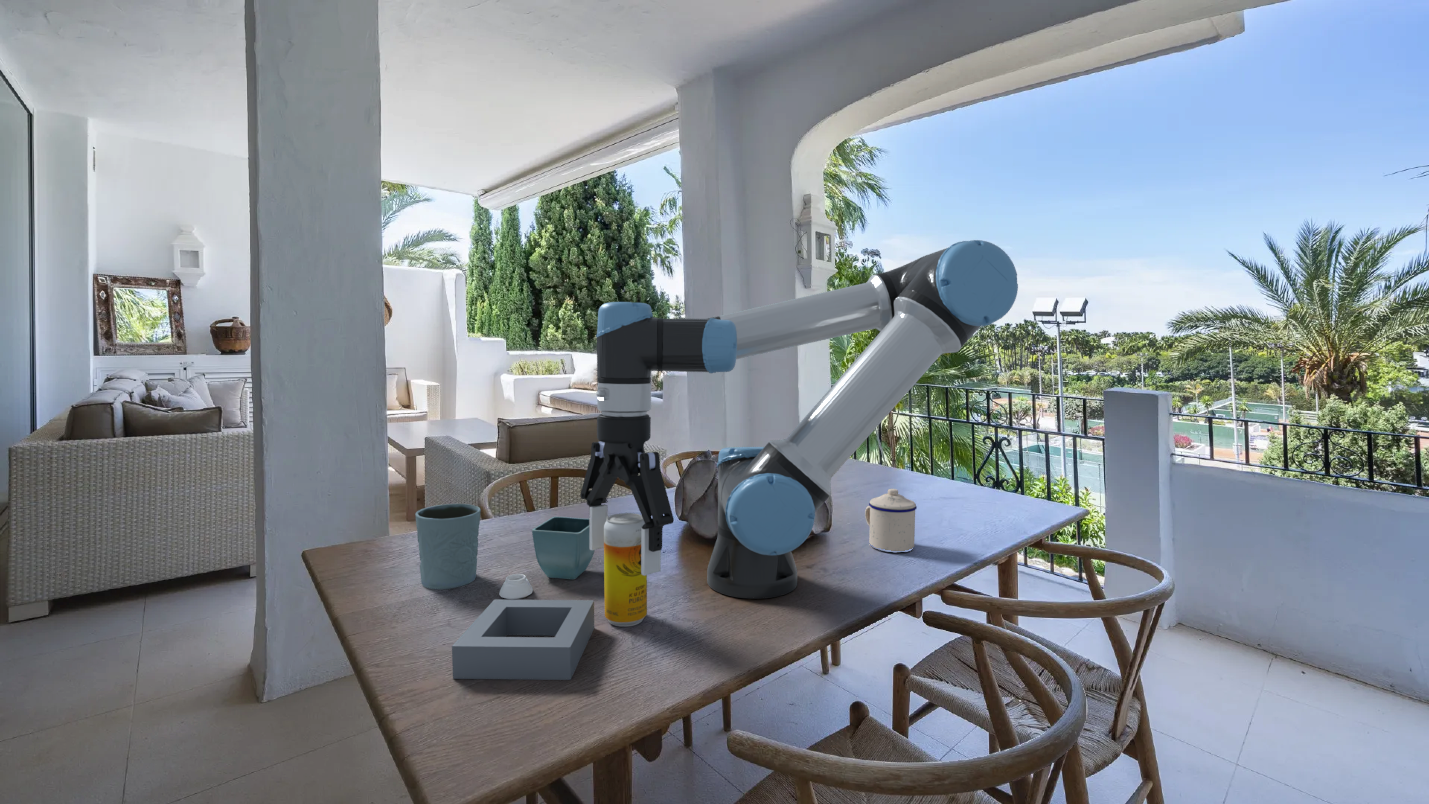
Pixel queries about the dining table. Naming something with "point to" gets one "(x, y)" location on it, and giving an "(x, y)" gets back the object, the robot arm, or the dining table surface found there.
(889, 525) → the teacup with lid
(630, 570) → the beer can
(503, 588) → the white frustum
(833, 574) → the dining table surface
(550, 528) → the flower pot
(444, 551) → the light blue cup
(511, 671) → the sleeve
